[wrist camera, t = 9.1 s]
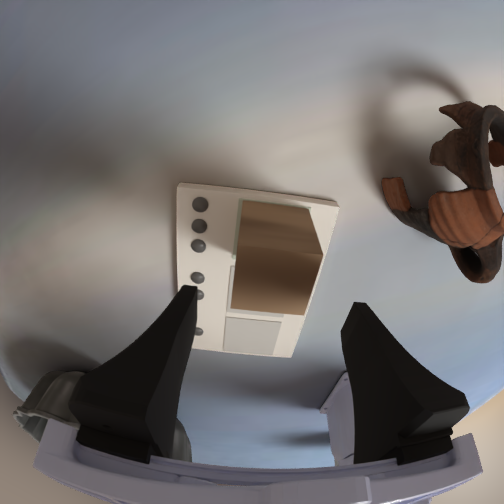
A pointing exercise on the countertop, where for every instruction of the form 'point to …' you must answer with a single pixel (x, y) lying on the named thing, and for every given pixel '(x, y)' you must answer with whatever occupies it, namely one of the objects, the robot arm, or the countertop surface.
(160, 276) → the countertop surface
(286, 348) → the board
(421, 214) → the pottery mug
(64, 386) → the bundt pan
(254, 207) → the walnut block
